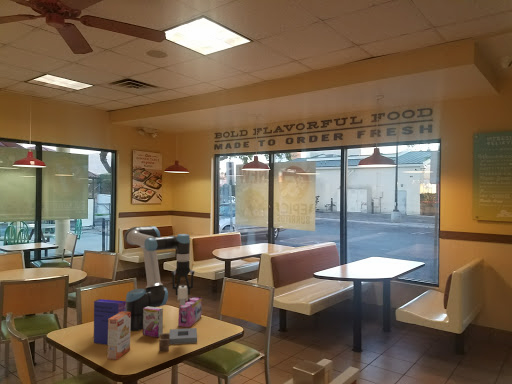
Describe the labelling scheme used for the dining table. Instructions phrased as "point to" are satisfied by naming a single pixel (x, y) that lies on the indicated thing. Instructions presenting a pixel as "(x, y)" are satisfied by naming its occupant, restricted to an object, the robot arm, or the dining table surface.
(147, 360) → the dining table surface
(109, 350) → the cracker box
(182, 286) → the plug
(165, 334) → the holster
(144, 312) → the candy bar box
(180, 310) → the gum box
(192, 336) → the port block
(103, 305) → the cereal box
